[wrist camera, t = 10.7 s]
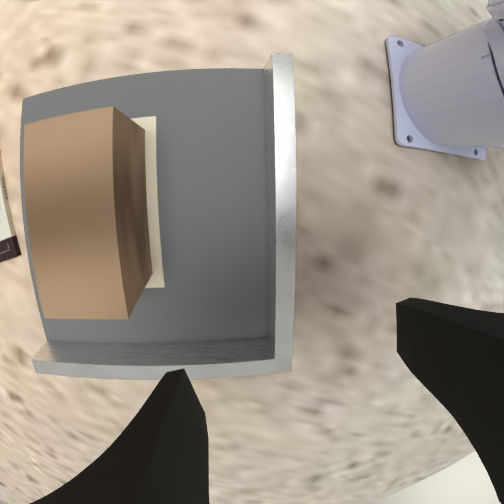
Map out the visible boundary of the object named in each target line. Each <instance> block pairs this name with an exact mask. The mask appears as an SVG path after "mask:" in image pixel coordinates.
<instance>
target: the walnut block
mask: <svg viewBox="0 0 504 504" xmlns="http://www.w3.org/2000/svg"><path fill="white" fill-rule="evenodd" d="M24 190H25V205H26V216H27V226H28V235H29V242H30V249H31V256H32V262H33V268H34V273H35V278H36V284H37V288H38V293H39V298H40V302H41V306H42V310H43V314H44V318H50V319H129V317H130V315H131V313H132V311H133V309H134V307H135V305H136V304H137V302H138V300H139V298H140V296H141V294H142V292H143V290H144V289H145V287H146V285H147V283H148V281H149V279H150V277H151V276H152V274H153V272H152V262H151V251H150V240H149V227H148V212H147V194H146V166H145V129H143V128H142V127H141V126H139V125H138V124H137V123H135V122H134V121H132V120H131V119H130V118H128V117H127V116H126V115H124V114H123V113H122V112H120V111H119V110H118V109H116V108H115V107H114V106H111V107H105V108H98V109H93V110H87V111H82V112H76V113H71V114H67V115H62V116H57V117H53V118H49V119H44V120H40V121H36V122H33V123H29V124H25V125H24Z"/></svg>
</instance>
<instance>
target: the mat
mask: <svg viewBox="0 0 504 504" xmlns="http://www.w3.org/2000/svg"><path fill="white" fill-rule="evenodd" d="M111 106H114V107H115V108H116V109H118V110H119V111H120V112H122V113H123V114H124V115H126V116H127V117H128V118H130V119H131V120H132V121H134V122H135V123H137V124H138V125H139V126H141V127H142V128H143V129H145V166H146V194H147V212H148V227H149V240H150V251H151V262H152V272H153V274H152V276H151V277H150V279H149V281H148V283H147V285H146V287H145V289H144V290H143V292H142V294H141V296H140V298H139V300H138V302H137V304H136V305H135V307H134V309H133V311H132V313H131V315H130V317H129V319H50V318H44V314H43V310H42V306H41V302H40V298H39V293H38V288H37V284H36V278H35V273H34V268H33V262H32V256H31V249H30V242H29V235H28V226H27V216H26V205H25V190H24V125H25V124H29V123H33V122H36V121H40V120H44V119H49V118H53V117H57V116H62V115H67V114H71V113H76V112H82V111H87V110H93V109H98V108H105V107H111ZM20 180H21V199H22V212H23V222H24V231H25V239H26V246H27V253H28V259H29V265H30V271H31V276H32V281H33V286H34V291H35V295H36V300H37V304H38V308H39V312H40V316H41V320H42V323H43V327H44V331H45V334H46V338H47V340H48V341H65V342H90V343H175V342H201V341H220V340H235V339H248V338H260V337H266V176H265V120H264V79H263V69H236V68H224V69H191V70H175V71H163V72H152V73H144V74H135V75H128V76H121V77H115V78H109V79H103V80H97V81H92V82H87V83H82V84H78V85H73V86H69V87H64V88H60V89H56V90H52V91H49V92H45V93H41V94H38V95H34V96H31V97H28V98H24V99H23V104H22V117H21V136H20Z"/></svg>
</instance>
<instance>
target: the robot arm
mask: <svg viewBox="0 0 504 504" xmlns="http://www.w3.org/2000/svg"><path fill="white" fill-rule="evenodd" d="M488 3H489V4H488V5H487V10H488V12H489V13H490V15H491V16H492V17H493V18H492V19H489V20H487V21H484V22H482V23H479V24H477V25H474V26H472V27H469V28H467V29H464V30H462V31H460V32H457V33H455V34H453V35H451V36H448V37H446V38H444V39H442V40H439V41H437V42H435V43H433V44H431V45H429V46H427V47H425V46H422V45H419V44H416V43H413V42H410V41H407V40H404V39H401V38H398V37H394V36H389V37H388V38H387V39H386V46H387V53H388V60H389V68H390V77H391V87H392V98H393V112H394V130H395V141H396V142H397V144H398V145H400V146H406V147H413V148H419V149H425V150H431V151H437V152H443V153H448V154H453V155H458V156H463V157H468V158H473V159H477V160H485V159H486V148H504V0H488ZM398 43H399V44H400V46H399V45H398ZM407 136H408V137H409V142H408V141H407ZM396 316H397V352H398V354H399V355H400V357H401V358H402V360H403V361H404V363H405V364H406V366H407V367H408V368H409V370H410V371H411V372H412V373H413V374H414V375H415V377H416V378H417V379H418V380H419V381H420V382H421V383H422V384H423V385H424V386H425V387H426V388H427V389H428V390H429V391H430V392H431V393H432V394H433V395H434V396H435V397H436V398H437V399H438V401H439V402H440V403H441V404H442V405H443V406H444V407H445V408H446V409H447V410H448V411H449V412H450V414H451V415H452V416H453V417H454V419H455V420H456V421H457V423H458V424H459V426H460V427H461V428H462V430H463V431H464V433H465V434H466V436H467V437H468V439H469V440H470V442H471V444H472V445H473V447H474V448H475V450H476V452H477V453H478V455H479V457H480V459H481V461H482V463H483V464H484V466H485V468H486V470H487V472H488V475H489V477H490V479H491V481H492V484H493V486H494V488H495V491H496V493H497V496H498V499H499V501H500V502H501V504H504V313H496V312H488V311H481V310H474V309H469V308H464V307H458V306H454V305H449V304H444V303H439V302H434V301H429V300H424V299H418V298H408V299H406V300H403V301H401V302H398V303H396ZM30 504H209V466H208V432H207V424H206V417H205V412H204V410H203V408H202V406H201V404H200V402H199V400H198V398H197V395H196V393H195V391H194V389H193V387H192V385H191V382H190V380H189V378H188V376H187V373H186V371H185V369H184V368H183V369H179V370H174V371H169V372H166V373H165V375H164V376H163V377H162V379H161V380H160V382H159V383H158V385H157V386H156V388H155V389H154V390H153V392H152V393H151V395H150V396H149V398H148V399H147V401H146V402H145V403H144V405H143V406H142V408H141V409H140V410H139V412H138V413H137V414H136V416H135V417H134V418H133V419H132V421H131V422H130V423H129V425H128V426H127V427H126V428H125V430H124V431H123V432H122V433H121V435H120V436H119V437H118V438H117V439H116V440H115V441H114V442H113V443H112V444H111V446H110V447H109V448H108V449H107V450H106V451H105V452H104V453H103V454H102V455H101V456H100V457H98V458H97V459H96V460H95V461H94V462H93V463H92V464H90V465H89V466H88V467H87V468H85V469H84V470H83V471H82V472H81V473H79V474H78V475H77V476H76V477H74V478H73V479H72V480H70V481H69V482H67V483H66V484H64V485H63V486H61V487H60V488H58V489H57V490H55V491H53V492H52V493H50V494H48V495H47V496H45V497H43V498H41V499H39V500H37V501H35V502H33V503H30Z"/></svg>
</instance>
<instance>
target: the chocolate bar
mask: <svg viewBox="0 0 504 504" xmlns="http://www.w3.org/2000/svg"><path fill="white" fill-rule="evenodd" d="M19 255H21V252H20V248H19V245H18V241H17V237H16V233H15V229H14V225H13V221H12V217H11V212H10V208H9V203H8V198H7V193H6V187H5V181H4V175H3V168H2V161H1V153H0V262H2V261H5V260H8V259H11V258H14V257H17V256H19Z"/></svg>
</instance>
